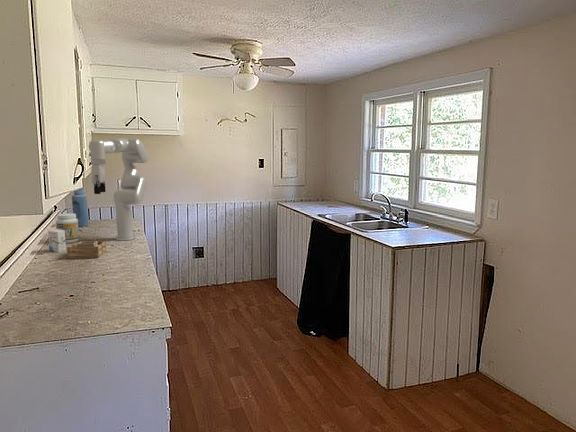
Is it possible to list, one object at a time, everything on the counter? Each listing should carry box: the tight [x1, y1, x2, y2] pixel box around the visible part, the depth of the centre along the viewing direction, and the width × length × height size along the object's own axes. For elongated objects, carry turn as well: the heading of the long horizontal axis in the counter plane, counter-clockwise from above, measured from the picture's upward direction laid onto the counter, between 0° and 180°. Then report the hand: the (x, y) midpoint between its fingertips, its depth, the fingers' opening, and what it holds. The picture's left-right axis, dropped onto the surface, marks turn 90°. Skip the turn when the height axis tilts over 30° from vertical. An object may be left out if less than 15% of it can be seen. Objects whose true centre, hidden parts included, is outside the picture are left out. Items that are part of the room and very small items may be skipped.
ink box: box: [47, 228, 67, 253], centre depth 250 cm, size 9×5×12 cm, turn 62°
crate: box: [66, 240, 107, 260], centre depth 241 cm, size 14×16×6 cm
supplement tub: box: [55, 212, 80, 244], centre depth 274 cm, size 12×12×17 cm
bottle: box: [71, 186, 89, 228], centre depth 325 cm, size 10×10×30 cm
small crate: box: [76, 240, 98, 252], centre depth 241 cm, size 6×9×6 cm, turn 96°
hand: (100, 193), depth 252 cm, fingers open, 9 cm apart
